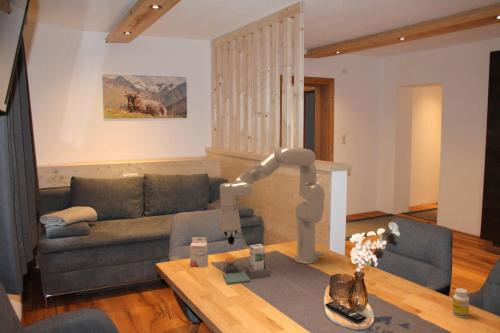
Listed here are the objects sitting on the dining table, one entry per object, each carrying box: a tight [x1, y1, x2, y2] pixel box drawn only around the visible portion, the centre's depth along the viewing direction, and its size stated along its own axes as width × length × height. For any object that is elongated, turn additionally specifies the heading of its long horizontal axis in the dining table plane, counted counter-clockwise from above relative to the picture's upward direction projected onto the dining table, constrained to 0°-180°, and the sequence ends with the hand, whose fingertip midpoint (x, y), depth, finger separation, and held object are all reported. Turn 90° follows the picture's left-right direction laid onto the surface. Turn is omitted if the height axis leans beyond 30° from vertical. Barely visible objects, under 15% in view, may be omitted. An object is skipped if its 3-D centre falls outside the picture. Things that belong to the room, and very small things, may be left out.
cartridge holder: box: [246, 264, 271, 280], centre depth 210 cm, size 9×9×4 cm
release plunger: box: [225, 257, 235, 265], centre depth 215 cm, size 4×4×6 cm
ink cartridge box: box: [189, 236, 209, 268], centre depth 225 cm, size 9×5×15 cm, turn 84°
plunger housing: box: [223, 260, 239, 274], centre depth 215 cm, size 6×6×4 cm
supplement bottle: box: [452, 287, 470, 319], centre depth 162 cm, size 5×5×10 cm
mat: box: [222, 271, 251, 286], centre depth 205 cm, size 11×11×1 cm
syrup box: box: [249, 243, 266, 271], centre depth 210 cm, size 6×6×14 cm
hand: (231, 243), depth 214 cm, fingers closed
